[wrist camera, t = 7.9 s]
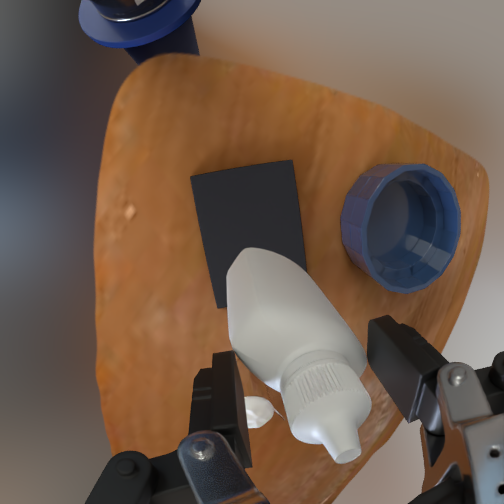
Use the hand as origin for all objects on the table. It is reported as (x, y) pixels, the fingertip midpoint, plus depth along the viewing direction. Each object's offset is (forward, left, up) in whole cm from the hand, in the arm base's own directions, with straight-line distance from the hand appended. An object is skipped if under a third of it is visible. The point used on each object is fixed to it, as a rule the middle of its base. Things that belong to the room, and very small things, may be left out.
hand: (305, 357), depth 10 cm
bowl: (+1, +16, -21) cm, 26 cm away
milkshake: (+16, -3, -21) cm, 26 cm away
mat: (0, 0, -21) cm, 21 cm away
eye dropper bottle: (0, 0, -8) cm, 8 cm away
